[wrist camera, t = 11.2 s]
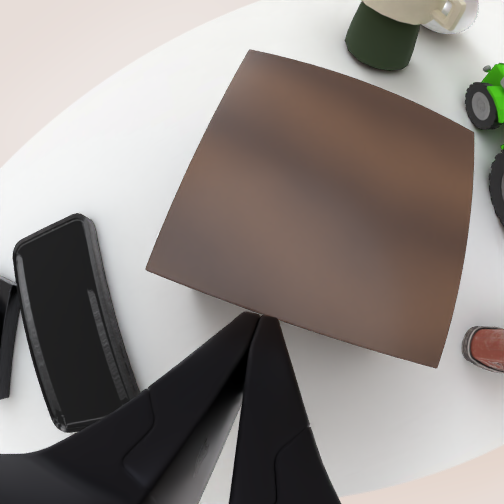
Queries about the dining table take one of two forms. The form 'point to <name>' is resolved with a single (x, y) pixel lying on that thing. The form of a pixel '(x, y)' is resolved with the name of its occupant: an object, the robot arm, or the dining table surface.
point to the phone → (72, 324)
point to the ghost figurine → (464, 22)
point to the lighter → (485, 347)
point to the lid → (326, 208)
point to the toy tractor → (490, 124)
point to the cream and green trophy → (395, 29)
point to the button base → (7, 331)
